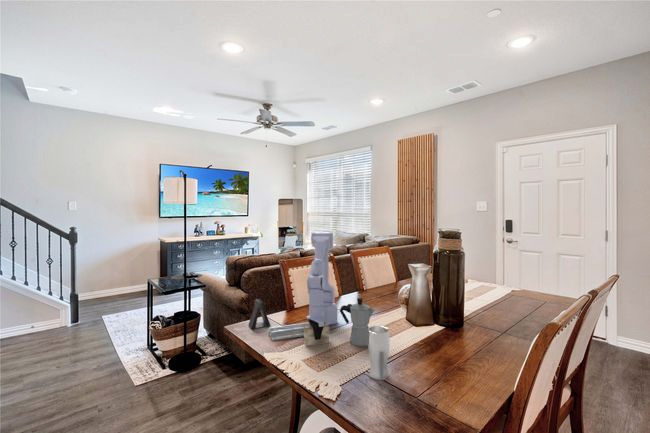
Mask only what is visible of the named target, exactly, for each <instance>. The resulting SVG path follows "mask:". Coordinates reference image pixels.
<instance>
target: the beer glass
mask: <svg viewBox="0 0 650 433" xmlns="http://www.w3.org/2000/svg"><path fill="white" fill-rule="evenodd" d="M368 327H369V328H368V346H367V349H368V355H369V361H370V367H369V368H370V369H369V372H368V374H369V377H370V378H371V379H374V380H376V381H385V380H387V379H389V371H388V361H389V360H388V359H389V352H390V333H389V330H390V329H389V328H388V327H385V326H382V325H371V326H368Z"/></svg>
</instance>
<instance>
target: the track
mask: <svg viewBox="0 0 650 433" xmlns="http://www.w3.org/2000/svg"><path fill="white" fill-rule="evenodd" d="M304 326H310V323H309V321H308V322H307V321H306V322H300V323H293V324H286V325H285V324H284V325H279V326H278V325H277V326H268V334H269V337H270V339H271V342H274V341H275V342H276V341H281V340H288V339H289V340H290V339H295V338H301V337H304Z"/></svg>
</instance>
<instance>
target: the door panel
mask: <svg viewBox="0 0 650 433" xmlns="http://www.w3.org/2000/svg"><path fill="white" fill-rule="evenodd" d="M327 343H330V325H328V324H327V323H325V326H324V328H323V330H322V334H321V339H319V340H315V337H314V331H313V327H312V325H310V326H304V336H303V344H304V346H305V347H308V346H312V345H313V346H314V345H321V344H327Z"/></svg>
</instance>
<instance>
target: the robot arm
mask: <svg viewBox="0 0 650 433" xmlns="http://www.w3.org/2000/svg"><path fill="white" fill-rule="evenodd" d="M310 237H311V238H310V239H311V240H310V241H311V244H312V247H313V248H314V260H312V262H311V263H310V264H311V266H310V272H309V276H307V279H306V286H307V293H308V310H309V311H308V315H306V319H307V321H308V322H309V323H310V325H312V327H313V331H314V337H315V340H319V339H321V334H322V330H323V328H324V326H325V323H327V324H328V325H329V326H331V325H337V324H338V323H339V321H338V306H337V304H336V303H335V298H336V297H335V295H336V294H335V288H334V286H333V285H332V284H331V283H329V282H330V281H329V275H330V274H329V253H330V250H331V249H333V247H334V233H333V232H332V231H312V232H311V236H310Z"/></svg>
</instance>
